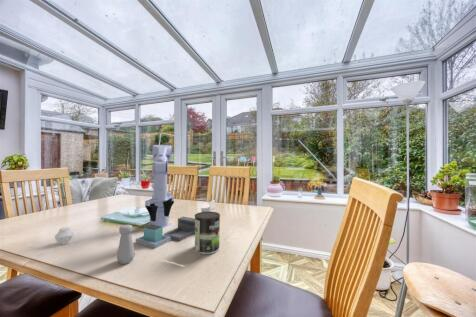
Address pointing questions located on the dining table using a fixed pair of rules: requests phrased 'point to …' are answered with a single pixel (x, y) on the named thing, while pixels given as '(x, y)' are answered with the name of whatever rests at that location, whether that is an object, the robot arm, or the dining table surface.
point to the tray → (151, 244)
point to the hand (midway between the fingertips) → (160, 218)
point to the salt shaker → (125, 245)
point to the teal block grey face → (153, 233)
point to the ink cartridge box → (209, 207)
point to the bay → (182, 229)
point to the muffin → (64, 236)
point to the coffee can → (207, 232)
